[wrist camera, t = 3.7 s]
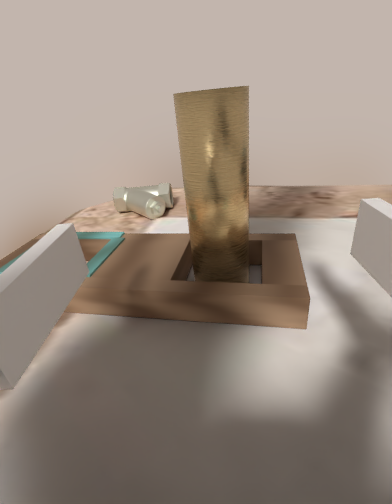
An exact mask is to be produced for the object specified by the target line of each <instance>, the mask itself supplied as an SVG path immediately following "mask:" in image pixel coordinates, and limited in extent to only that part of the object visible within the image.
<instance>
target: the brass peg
mask: <svg viewBox="0 0 392 504" xmlns="http://www.w3.org/2000/svg"><path fill="white" fill-rule="evenodd" d="M174 104H175V113H176V121H177V130H178V139H179V147H180V156H181V165H182V173H183V182H184V191H185V200H186V208H187V217H188V226H189V234H190V243H191V252H192V260H193V269H194V278H195V281H201V282H227V283H249V86H240V87H230V88H220V89H210V90H201V91H192V92H184V93H177V94H174Z"/></svg>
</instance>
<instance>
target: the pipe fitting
mask: <svg viewBox="0 0 392 504" xmlns="http://www.w3.org/2000/svg"><path fill="white" fill-rule="evenodd" d="M113 200H114V205H115V208H116V210H117V212H129V211H134V212H136V213H138V214H140V215H143V216H145V217H147V218H149V219H152V220H153V219H156V218H158V217H161V216H162V215H163V214H164V211H165V208H173V192H172V187H171V184H170V183H162V184H159V185H156V186H144V187H133V188H126V187H117V188H115V189H114V193H113Z"/></svg>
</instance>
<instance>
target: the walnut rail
mask: <svg viewBox="0 0 392 504" xmlns="http://www.w3.org/2000/svg"><path fill="white" fill-rule="evenodd" d="M76 233H77V237H78V240H79V243H80V246H81V249H82V252H83V255H84V258H85V261H89V262H88V263H87V267H88V270H89V273H88V275H87V277H86V278H85V280H84V281H83V283H82V284H81V286H80V287H79V289H78V290H77V292H76V293H75V295H74V297H73V298H72V300H71V301H70V303H69V304H68V306H67V307H66V309H65V310H64V312H72V313H86V314H100V315H115V316H129V317H143V318H157V319H171V320H185V321H199V322H213V323H227V324H241V325H255V326H269V327H283V328H298V329H306V328H307V320H308V312H309V304H310V295H309V291H308V287H307V283H306V278H305V274H304V270H303V266H302V261H301V257H300V253H299V249H298V244H297V240H296V236H295V234H249V265H262V284H253V283H227V282H201V281H186V278H187V276H188V273H189V271H190V268H191V266H192V263H193V260H192V252H191V243H190V234H125V233H124V232H76ZM45 235H46V234H40V235H39V236H37V237H35V238H34V239H32V240H31V241H29V242H28V243H26V244H25V245H23V246H22V247H20V248H18V249H17V250H15V251H14V252H12V253H11V254H9V255H8V256H6V257H4V258H3V259H1V260H0V274H1V273H2V272H3V271H5V270H6V269H7V268H8V267H9V266H10V265H11V264H13V263H14V262H15V261H16V260H17V259H18V258H19V257H21V256H22V255H23V254H24V253H25V252H26V251H28V250H29V249H30V248H31V247H32V246H33V245H34V244H36V243H37V242H38V241H39V240H40V239H41V238H42V237H44V236H45Z"/></svg>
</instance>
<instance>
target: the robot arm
mask: <svg viewBox="0 0 392 504" xmlns="http://www.w3.org/2000/svg"><path fill="white" fill-rule="evenodd" d="M350 254H351V255H352V256H353V257H354V258H355V259H356V260H357V261H358V262H359V263H360V264H361V266H362V267H363V268H364V269H365V270H366V271H367V272H368V273H369V274H370V275H371V276H372V277H373V278H374V279H375V280H376V281H377V282H378V284H379V285H380V286H381V287H382V288H383V289H384V290H385V291H386V292H387V293H388V294H389V295H390V296H391V297H392V205H391V204H389V203H387V202H385V201H384V200H382V199H380V198H371V199H361V202H360V207H359V212H358V217H357V222H356V227H355V232H354V237H353V243H352V248H351V253H350ZM88 273H89V270H88V267H87V264H86V261H85V258H84V255H83V252H82V249H81V246H80V243H79V240H78V237H77V233H76V230H75V227H74V224H73V223H69V224H57V225H56V226H55V227H54V228H53V229H52V230H50V231H49V232H48V233H47V234H46V235H45V236H44V237H42V238H41V239H40V240H39V241H38V242H37V243H36V244H34V245H33V246H32V247H31V248H30V249H29V250H28V251H26V252H25V253H24V254H23V255H22V256H21V257H19V258H18V259H17V260H16V261H15V262H14V263H13V264H11V265H10V266H9V267H8V268H7V269H6V270H5V271H3V272H2V273H1V274H0V390H2V389H14V387H15V386H16V384H17V383H18V381H19V380H20V378H21V376H22V375H23V373H24V372H25V370H26V369H27V367H28V366H29V364H30V363H31V361H32V360H33V358H34V356H35V355H36V353H37V352H38V350H39V349H40V347H41V346H42V344H43V343H44V341H45V340H46V338H47V337H48V335H49V333H50V332H51V330H52V329H53V327H54V326H55V324H56V323H57V321H58V320H59V318H60V317H61V315H62V313H63V312H64V310H65V309H66V307H67V306H68V304H69V303H70V301H71V300H72V298H73V297H74V295H75V293H76V292H77V290H78V289H79V287H80V286H81V284H82V283H83V281H84V280H85V278H86V277H87V275H88Z"/></svg>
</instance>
